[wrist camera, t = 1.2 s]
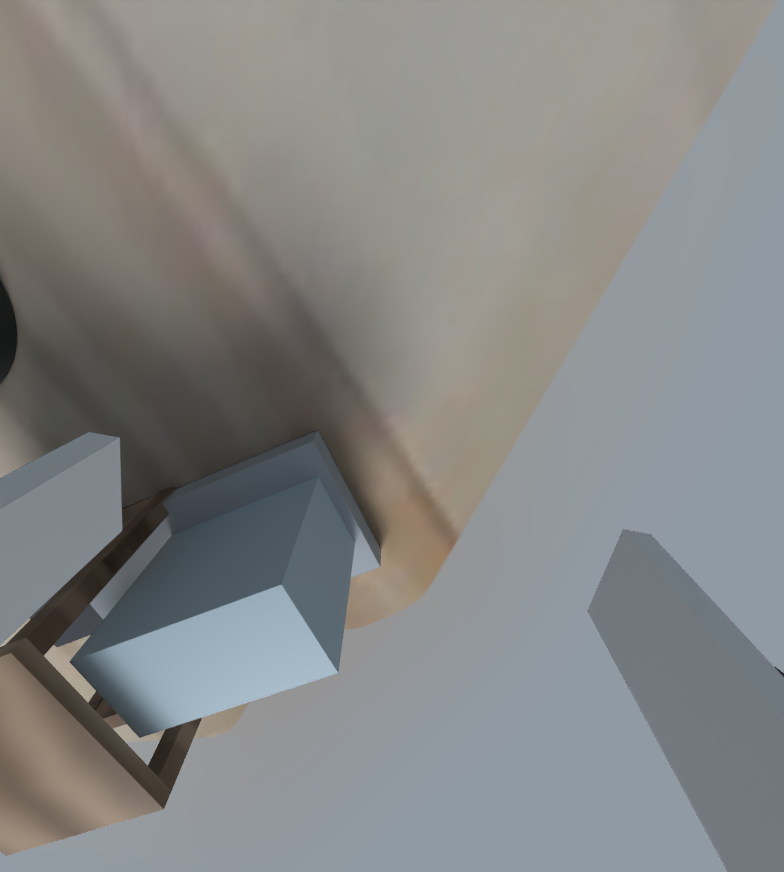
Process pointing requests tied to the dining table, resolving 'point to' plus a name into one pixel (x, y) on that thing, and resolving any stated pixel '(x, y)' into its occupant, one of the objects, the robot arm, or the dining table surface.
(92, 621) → the dark grey square plate
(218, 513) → the runway
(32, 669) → the tunnel
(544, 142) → the dining table surface
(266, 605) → the block
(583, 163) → the dining table surface
